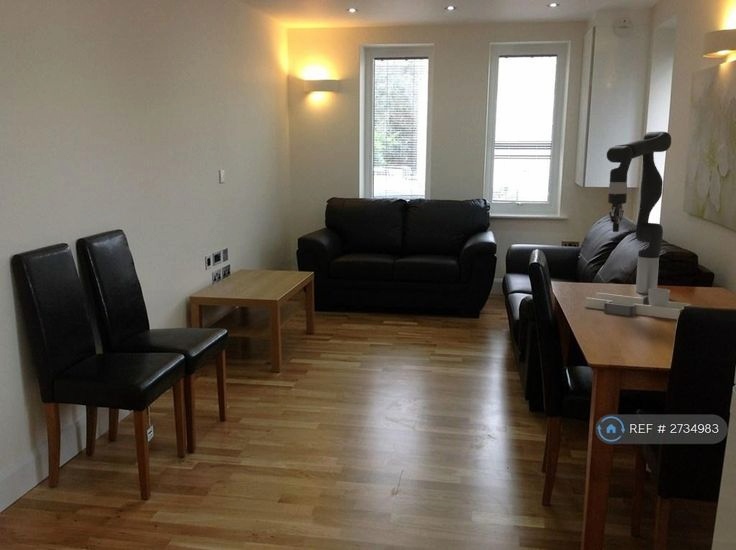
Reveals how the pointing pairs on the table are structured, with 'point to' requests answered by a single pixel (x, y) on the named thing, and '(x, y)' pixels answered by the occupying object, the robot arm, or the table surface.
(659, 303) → the cup
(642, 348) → the table surface
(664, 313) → the box
